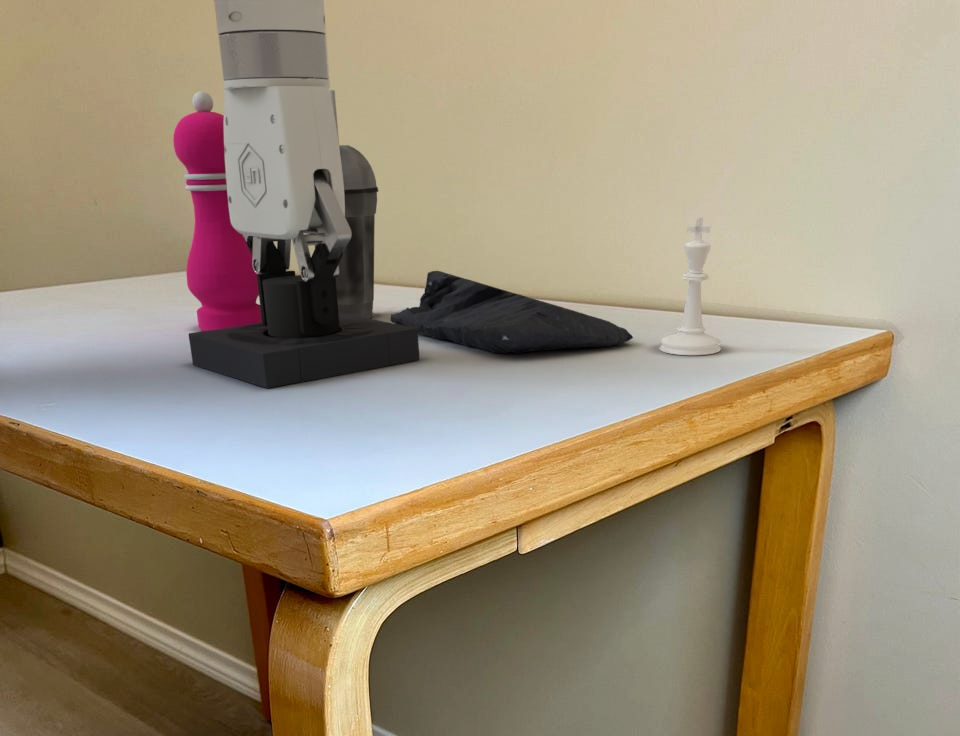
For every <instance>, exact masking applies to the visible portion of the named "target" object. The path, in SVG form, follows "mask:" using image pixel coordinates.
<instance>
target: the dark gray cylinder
mask: <svg viewBox="0 0 960 736" xmlns="http://www.w3.org/2000/svg"><path fill="white" fill-rule="evenodd" d="M301 280H302V278H301V275H300V274H299V275H297V274H295V276H281V277H273V278H268V279H265V280H263V290H264V299H265V308H266V317H267V327H268V334H269V335H270V336H273V337H279V338H308V337H318V336H324V335H328V334H330V333H326V334H320V335H313V336H306V335H303V334H302V333H301V328H300V318H299V307H298V297H297V286H296V281H301Z"/></svg>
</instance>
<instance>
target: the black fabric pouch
mask: <svg viewBox="0 0 960 736" xmlns="http://www.w3.org/2000/svg"><path fill="white" fill-rule="evenodd" d="M426 275H427V276H426V282H425V288H424V292H423V294H422V295H421V297H420V299H419V306H412V307H406V308H405V309H402V310H401V311H399V312H395V313H391V314H390V320H389V321H390V323H393V324H399V325H404V326H409V327H414V328H418V334H421V335H422V336H429V337H432V338H433V339H435V340H436V339H438V340H449V341H452V342H454V343H456V344H460V345H463V346H465V347H466V346H467V347H473V348H477V349H482V350H484V351H489V352H491V353H493V354H502V353H517V354H518V353H519V354H520V353H528V352H532V351H533V352H536V351H540V352H544V351H547V350H561V349H562V350H563V349H581V348H587V349H588V348H604V347H611V346H618V345H620V344H623V343H627V342H629V341H630V340H632V339H634V336H633V335H632V334H631V333H630V332H629V331H628V329H626V328H624V327H621V326H619V325H617V324H615V323H613V322H612V321H608V320H606V319H604V318H600V317H596V316H592V315H589V314H586V313H583V312H579V311H577V310H573V309H570V308H566V307H563V306H560V305H556V304H554V303H549V302H546V301H542V300H539V299H536V298H533V297H529V296H526V295H522V294H519V293H515V292H512V291H508V290H505V289H502V288H499V287H495V286H493V285H488V284H485V283H481V282H479V281H475V280H472V279H468V278H464V277H461V276H457V275H454V274H451V273H447V272H444V271H441V270H432V271H429V272H427V274H426Z"/></svg>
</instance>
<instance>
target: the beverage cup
mask: <svg viewBox="0 0 960 736" xmlns="http://www.w3.org/2000/svg"><path fill="white" fill-rule="evenodd" d="M329 92H330V97H331V101H332V106H333V111H334V116H335V122H336V128H337V134H338V135H339V127H338V115H337V103H336V91H335V90H334V89H332V90H331V89H329ZM338 141H339V142H340V139H339V136H338ZM339 149H340V156H341V165H342V173H343V184H344V198H345V218H346V220H347V222H348V224H349V226H350V229H351V232H352V236H351V239H350V241H349V243H348V244H347V246H346V248H345V249H344V251H343V255H342V258H341V260H340V262H339V264H338V266H339V276H338V278H336V289H337V302H338V313H342V314H347V315H353V316H358V317H363V318H368V319H372V318H373V316H374V313H373V309H374V300H375V294H374V293H375V222H376V221H375V219H376V218H375V216H376V213H377V206H378V192H379V187H378V185H377V179H376V176H375V173H374V170H373V168H372V165H371V164H370V162H369V160H368V159H367V158H366V156H365V155H364V154H362V153H361V151H360V150H358V149H357V148H355V147H353V146H351V145H349V144H342V145H341V144H339ZM315 247H316V245H314V248H315Z"/></svg>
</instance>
